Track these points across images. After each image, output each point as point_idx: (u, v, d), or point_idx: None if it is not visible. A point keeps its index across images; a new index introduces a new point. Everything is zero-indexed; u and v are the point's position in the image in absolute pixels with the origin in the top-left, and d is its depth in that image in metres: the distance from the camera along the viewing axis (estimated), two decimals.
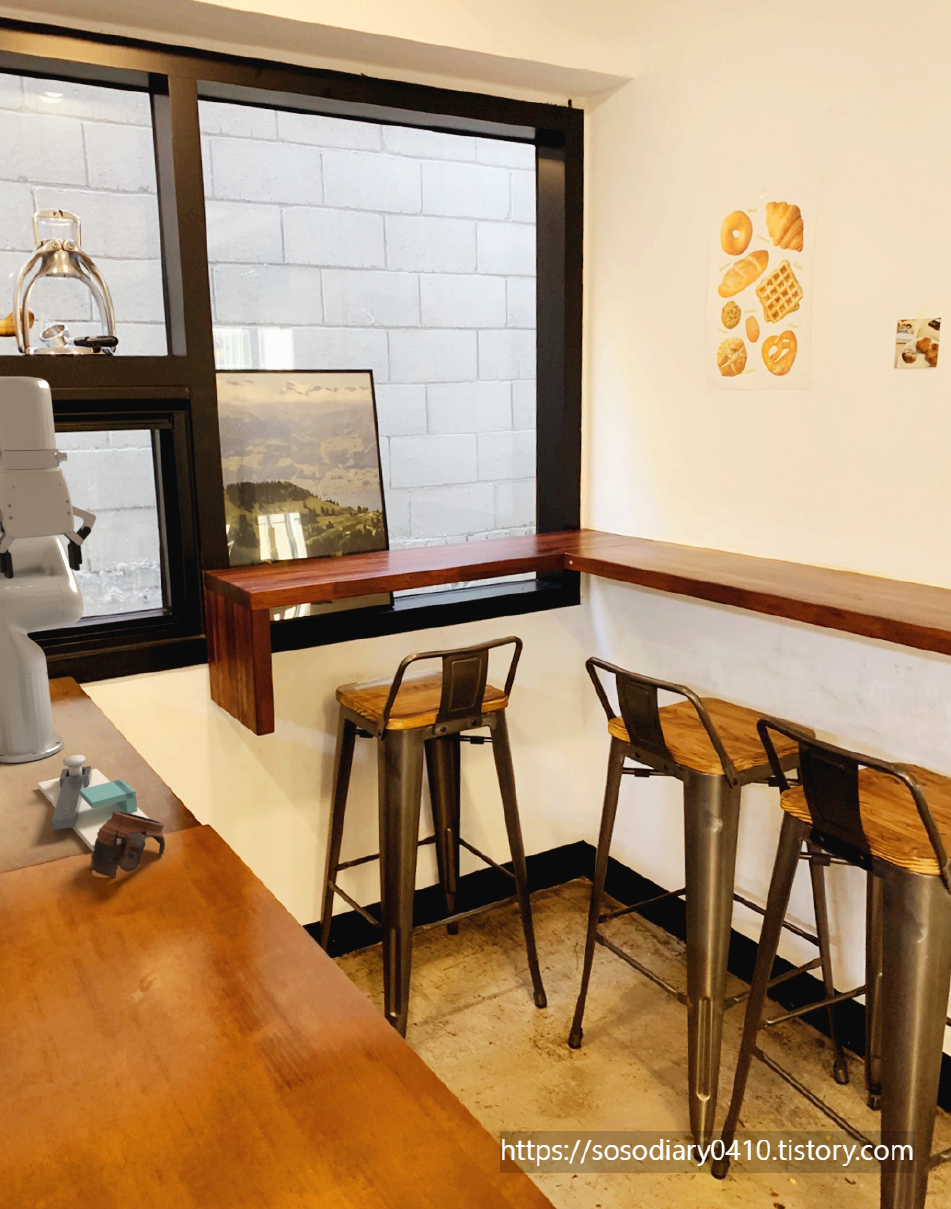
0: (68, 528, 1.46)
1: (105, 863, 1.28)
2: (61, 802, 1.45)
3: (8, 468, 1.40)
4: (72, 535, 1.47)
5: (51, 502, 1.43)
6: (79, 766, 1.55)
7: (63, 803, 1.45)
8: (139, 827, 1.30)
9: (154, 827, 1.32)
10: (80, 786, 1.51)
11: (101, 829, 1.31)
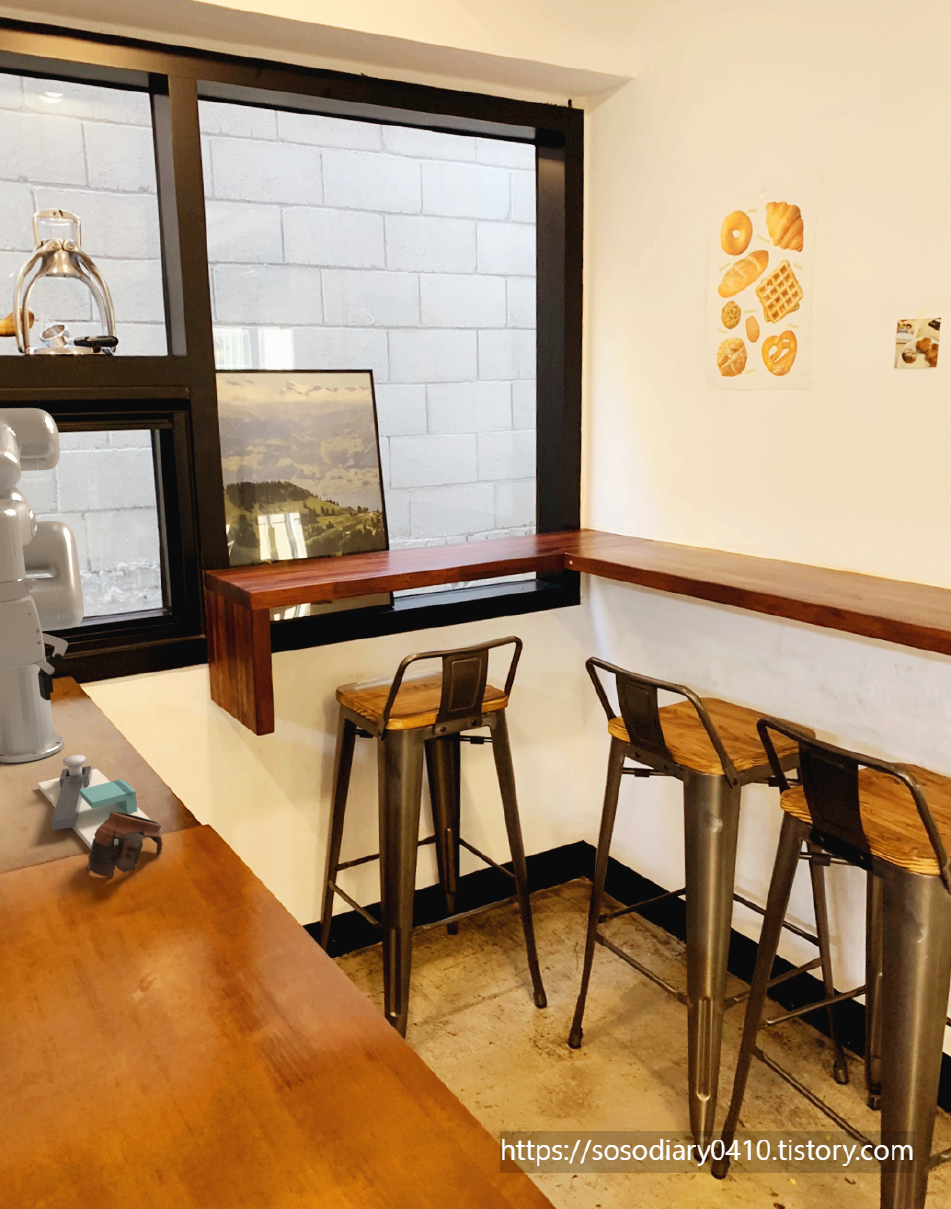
0: (38, 658, 1.40)
1: (103, 864, 1.28)
2: (61, 802, 1.45)
3: None
4: (42, 664, 1.41)
5: (20, 633, 1.38)
6: (79, 766, 1.55)
7: (63, 803, 1.45)
8: (136, 828, 1.30)
9: (151, 827, 1.32)
10: (80, 786, 1.51)
11: (98, 829, 1.30)
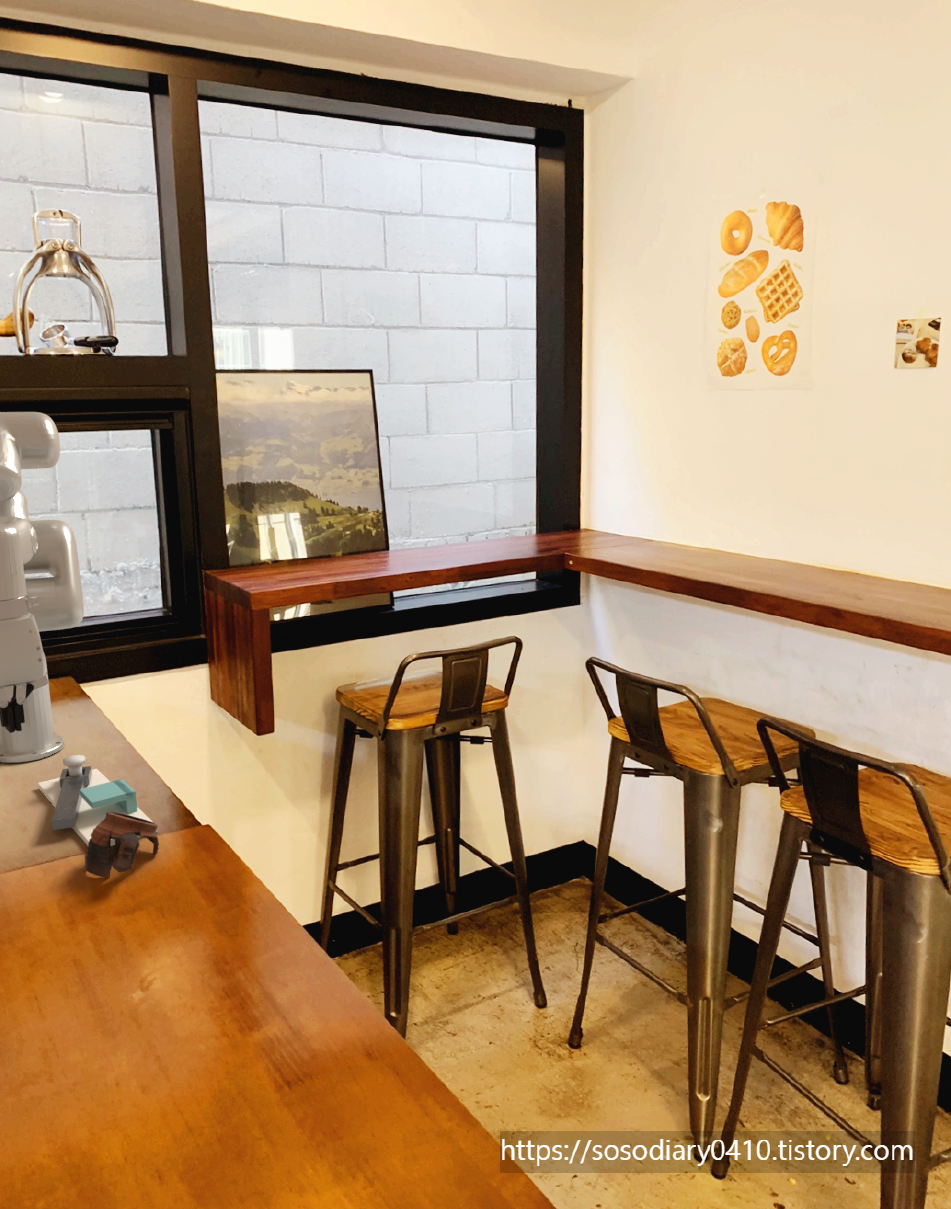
0: (39, 675, 1.40)
1: (99, 864, 1.28)
2: (61, 802, 1.45)
3: None
4: (21, 691, 1.40)
5: (21, 650, 1.38)
6: (79, 766, 1.55)
7: (63, 803, 1.45)
8: (132, 828, 1.30)
9: (148, 827, 1.32)
10: (80, 786, 1.51)
11: (95, 830, 1.30)
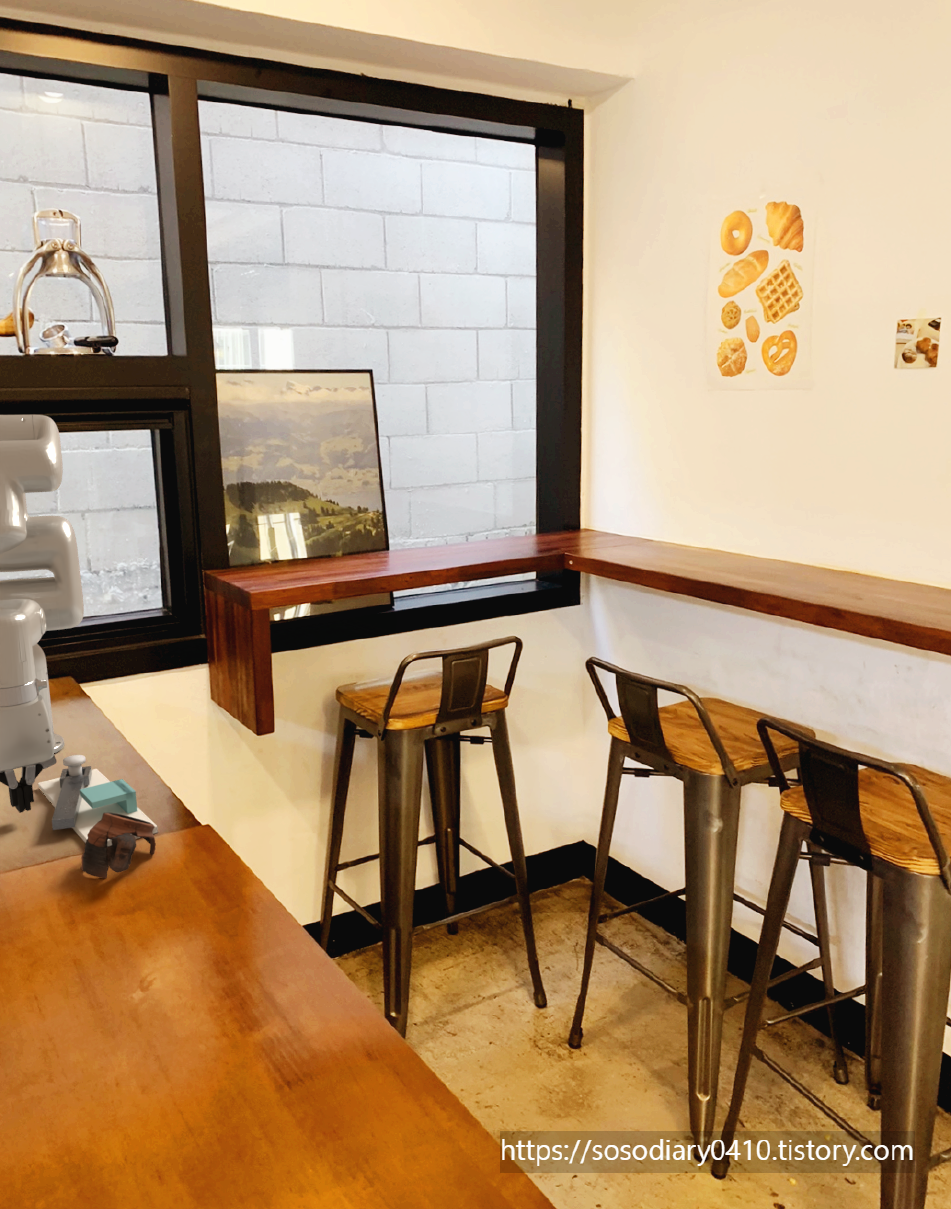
0: (48, 756, 1.43)
1: (96, 864, 1.28)
2: (61, 802, 1.45)
3: None
4: (30, 772, 1.43)
5: (30, 733, 1.41)
6: (79, 766, 1.55)
7: (63, 803, 1.45)
8: (129, 828, 1.30)
9: (145, 827, 1.32)
10: (80, 786, 1.51)
11: (91, 830, 1.30)
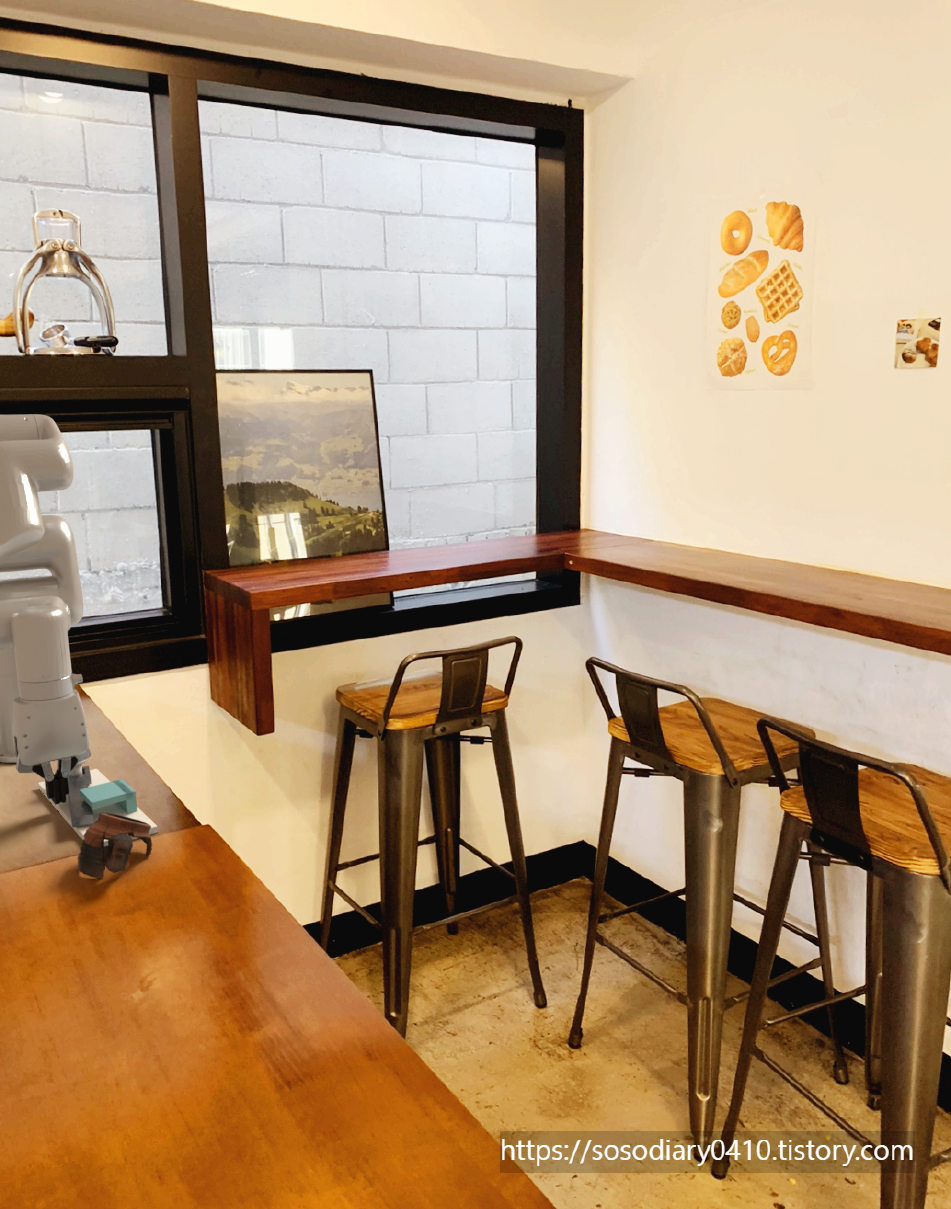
0: (83, 749, 1.46)
1: (92, 865, 1.28)
2: (73, 800, 1.45)
3: (24, 698, 1.40)
4: (66, 764, 1.46)
5: (66, 727, 1.44)
6: (79, 766, 1.55)
7: (75, 802, 1.45)
8: (126, 828, 1.30)
9: (141, 828, 1.31)
10: (86, 785, 1.51)
11: (88, 830, 1.30)
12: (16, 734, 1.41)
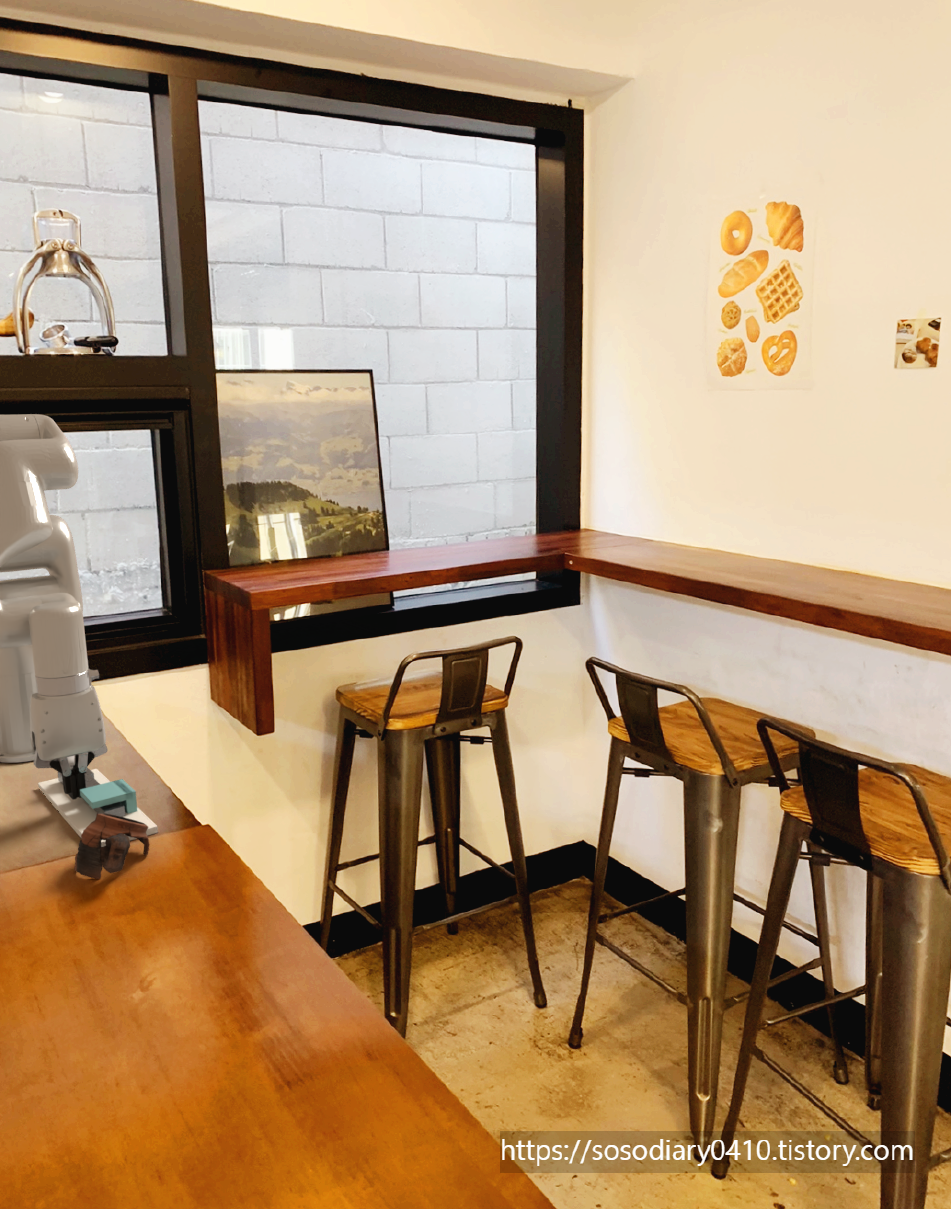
0: (100, 744, 1.47)
1: (90, 865, 1.28)
2: None
3: (41, 694, 1.42)
4: (83, 760, 1.47)
5: (83, 722, 1.45)
6: None
7: None
8: (123, 828, 1.30)
9: (139, 828, 1.31)
10: (96, 782, 1.52)
11: (85, 831, 1.30)
12: (34, 729, 1.42)
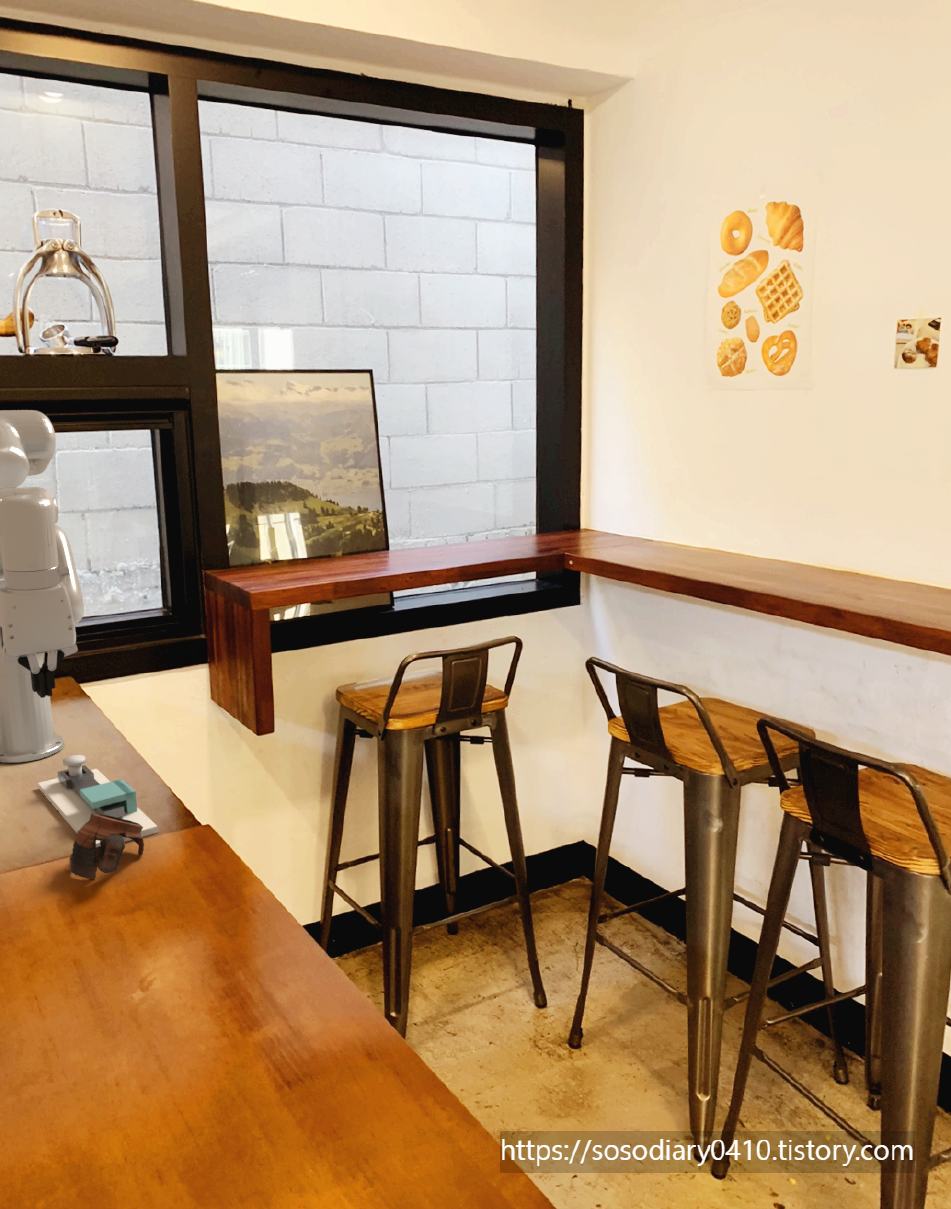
0: (70, 643, 1.45)
1: (84, 866, 1.28)
2: None
3: (10, 588, 1.38)
4: (52, 658, 1.44)
5: (53, 619, 1.42)
6: (79, 766, 1.55)
7: None
8: (118, 829, 1.30)
9: (133, 828, 1.31)
10: (96, 782, 1.52)
11: (79, 831, 1.30)
12: (1, 624, 1.39)
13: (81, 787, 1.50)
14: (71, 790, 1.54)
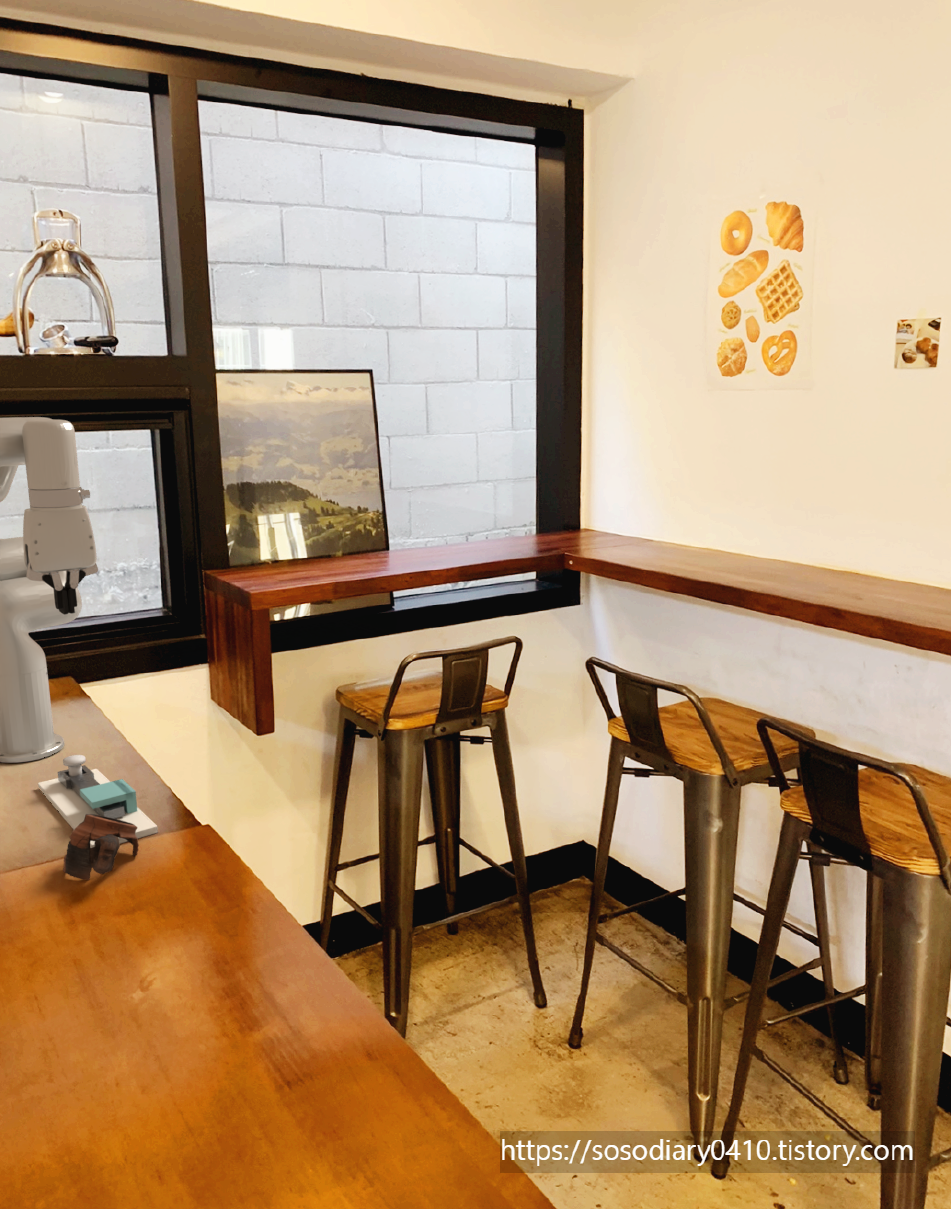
0: (91, 562, 1.53)
1: (79, 866, 1.28)
2: None
3: (35, 506, 1.47)
4: (74, 576, 1.52)
5: (75, 538, 1.50)
6: (79, 766, 1.55)
7: None
8: (112, 829, 1.30)
9: (128, 829, 1.31)
10: (96, 782, 1.52)
11: (74, 832, 1.30)
12: (27, 541, 1.47)
13: (81, 787, 1.50)
14: (71, 790, 1.54)
